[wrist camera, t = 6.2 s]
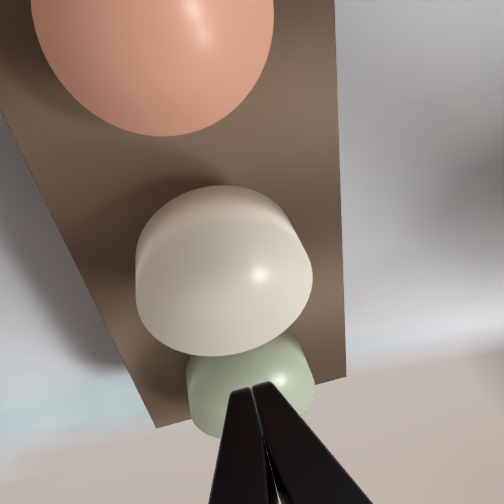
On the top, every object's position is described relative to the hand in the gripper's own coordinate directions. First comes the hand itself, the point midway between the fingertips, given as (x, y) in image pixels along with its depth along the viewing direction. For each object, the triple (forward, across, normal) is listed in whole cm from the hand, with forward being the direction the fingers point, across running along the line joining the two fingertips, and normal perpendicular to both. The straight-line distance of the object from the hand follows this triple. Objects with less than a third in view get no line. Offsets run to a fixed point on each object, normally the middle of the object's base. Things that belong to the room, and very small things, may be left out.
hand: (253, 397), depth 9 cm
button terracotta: (+6, 0, -6) cm, 8 cm away
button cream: (+5, 0, 0) cm, 5 cm away
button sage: (+6, 0, +6) cm, 8 cm away
